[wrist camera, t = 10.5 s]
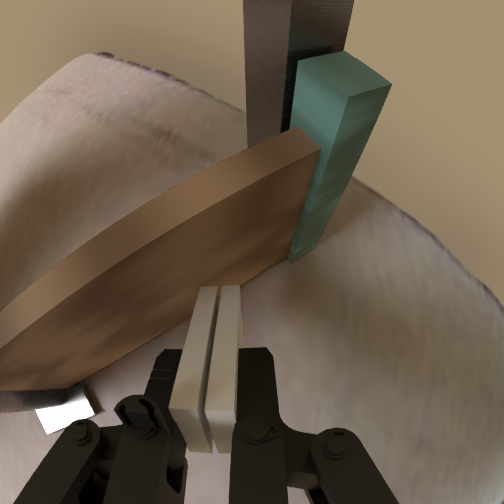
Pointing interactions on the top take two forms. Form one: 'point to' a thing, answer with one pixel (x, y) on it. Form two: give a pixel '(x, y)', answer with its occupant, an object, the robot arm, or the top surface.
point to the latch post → (285, 54)
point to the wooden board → (195, 236)
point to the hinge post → (51, 405)
